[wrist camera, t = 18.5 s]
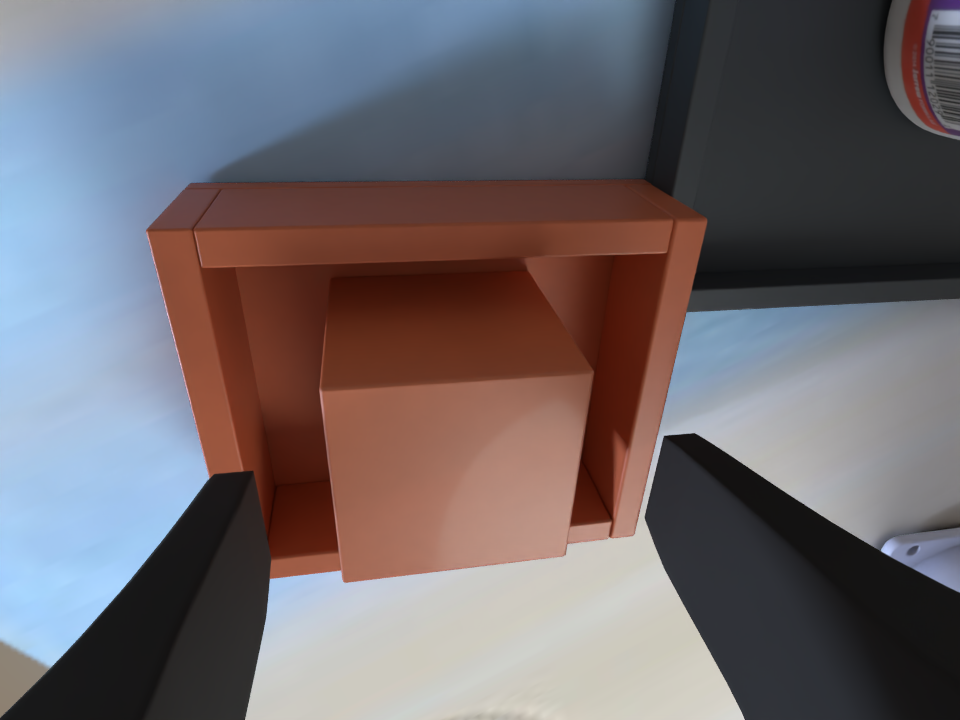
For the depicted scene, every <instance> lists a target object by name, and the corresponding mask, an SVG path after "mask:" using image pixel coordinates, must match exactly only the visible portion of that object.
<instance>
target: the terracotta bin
mask: <svg viewBox="0 0 960 720" xmlns="http://www.w3.org/2000/svg"><path fill="white" fill-rule="evenodd" d="M706 226H707V218H706V217H704V216H703V215H701V214H699V213H698V212H696V211H694V210H693V209H691V208H689V207H688V206H686V205H684V204H683V203H681V202H679V201H678V200H676V199H674V198H673V197H671V196H670V195H668V194H666V193H665V192H663V191H661V190H660V189H658V188H656V187H655V186H653V185H652V184H651V183H649V182H647V181H646V180H644V179H601V180H486V181H372V182H257V183H191V184H189V185H188V186H187V187H186V188H185V190H183V191H182V192H181V193H180V194H179V195H178V196H177V198H176V199H175V200H174V201H173V202H172V203H171V204H170V205H169V206H168V207H167V208H166V209H165V210H164V211H163V212H162V214H161V215H160V216H159V217H158V218H157V219H156V220H155V221H154V222H153V223H152V224H151V225H150V226H149V227H148V229H147V230H146V233H147V237H148V241H149V245H150V249H151V253H152V257H153V261H154V265H155V268H156V272H157V276H158V280H159V284H160V288H161V292H162V296H163V300H164V303H165V307H166V311H167V315H168V319H169V323H170V327H171V331H172V335H173V339H174V342H175V346H176V350H177V354H178V358H179V362H180V366H181V370H182V374H183V377H184V381H185V385H186V389H187V393H188V397H189V401H190V405H191V409H192V412H193V416H194V420H195V424H196V428H197V432H198V436H199V440H200V444H201V447H202V451H203V455H204V459H205V463H206V467H207V471H208V475H209V479H210V478H211V477H212V476H213V475H214V474H218V473H230V472H242V471H254V476H255V480H256V485H257V490H258V495H259V500H260V505H261V510H262V515H263V519H264V524H265V529H266V534H267V539H268V544H269V549H270V554H271V569H270V579H273V578H281V577H290V576H298V575H307V574H315V573H324V572H332V571H341V564H340V556H339V548H338V540H337V531H336V523H335V515H334V507H333V499H332V490H331V482H330V474H329V466H328V458H327V449H326V441H325V433H324V425H323V417H322V408H321V400H320V392H319V388H320V378H321V367H322V357H323V346H324V335H325V325H326V314H327V303H328V293H329V282H330V279H331V278H344V277H372V276H400V275H428V274H456V273H484V272H512V271H528V272H530V274H531V276H532V277H533V279H534V280H535V282H536V283H537V285H538V286H539V288H540V289H541V291H542V292H543V294H544V295H545V297H546V298H547V300H548V302H549V303H550V305H551V306H552V308H553V309H554V311H555V312H556V314H557V315H558V317H559V318H560V320H561V321H562V323H563V325H564V326H565V328H566V329H567V331H568V332H569V334H570V335H571V337H572V338H573V340H574V341H575V343H576V344H577V346H578V347H579V349H580V351H581V352H582V354H583V355H584V357H585V358H586V360H587V361H588V363H589V364H590V366H591V367H592V369H593V371H594V375H593V381H592V388H591V394H590V400H589V407H588V413H587V420H586V426H585V433H584V439H583V446H582V452H581V458H580V465H579V471H578V478H577V484H576V491H575V497H574V504H573V510H572V516H571V523H570V529H569V536H568V542H567V544H570V543H578V542H587V541H595V540H604V539H608V538H609V537H610V538H619V537H628V536H633V535H634V534H635V529H636V525H637V521H638V517H639V512H640V508H641V504H642V499H643V495H644V491H645V487H646V482H647V478H648V474H649V469H650V465H651V461H652V457H653V452H654V448H655V444H656V440H657V435H658V431H659V427H660V422H661V418H662V414H663V410H664V405H665V401H666V397H667V392H668V388H669V384H670V380H671V375H672V371H673V367H674V362H675V358H676V354H677V350H678V345H679V341H680V337H681V333H682V328H683V324H684V320H685V315H686V311H687V307H688V303H689V298H690V294H691V290H692V285H693V281H694V277H695V273H696V268H697V264H698V260H699V256H700V251H701V247H702V243H703V238H704V234H705V230H706Z"/></svg>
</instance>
